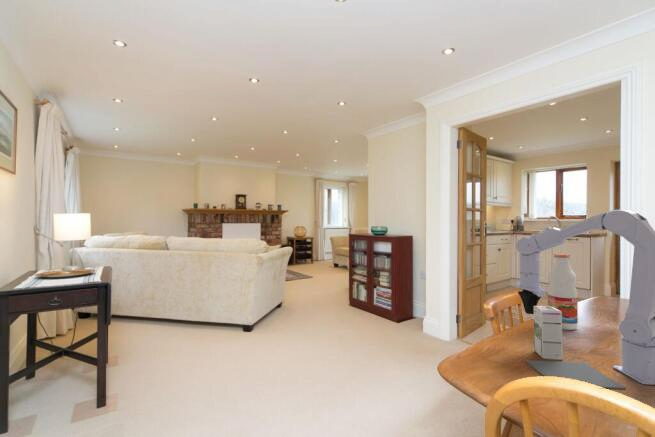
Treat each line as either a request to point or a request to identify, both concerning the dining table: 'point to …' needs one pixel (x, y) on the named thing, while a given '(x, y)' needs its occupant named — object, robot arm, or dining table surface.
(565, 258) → the fruit juice
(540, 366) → the slate mat
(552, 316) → the syrup box
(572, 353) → the dining table surface
